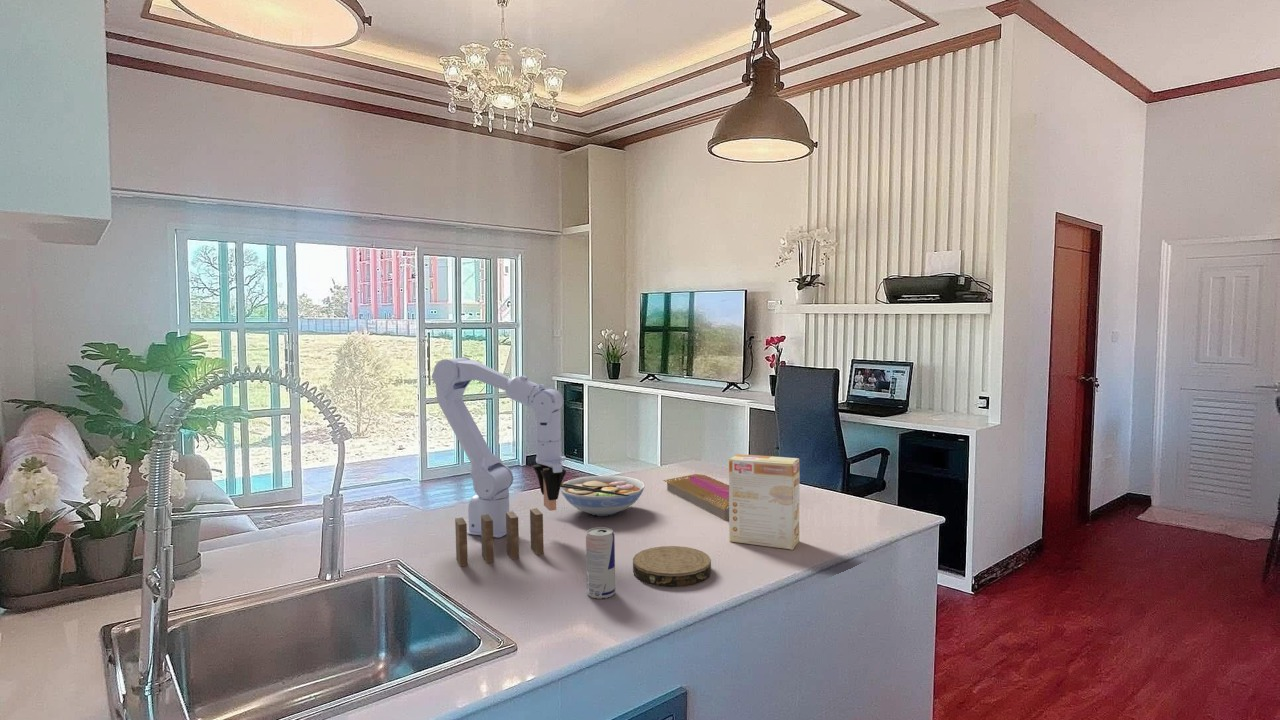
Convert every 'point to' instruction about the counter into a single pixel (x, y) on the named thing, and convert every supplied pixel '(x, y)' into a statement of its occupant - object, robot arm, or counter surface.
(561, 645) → the counter surface
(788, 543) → the coffeecake box
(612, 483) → the ramen bowl
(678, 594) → the counter surface
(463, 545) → the domino
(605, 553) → the energy drink
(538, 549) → the domino
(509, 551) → the domino
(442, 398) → the robot arm
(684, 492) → the brown rectangular box
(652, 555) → the wooden tree slice
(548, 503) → the orange tan rectangular block
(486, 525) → the domino
